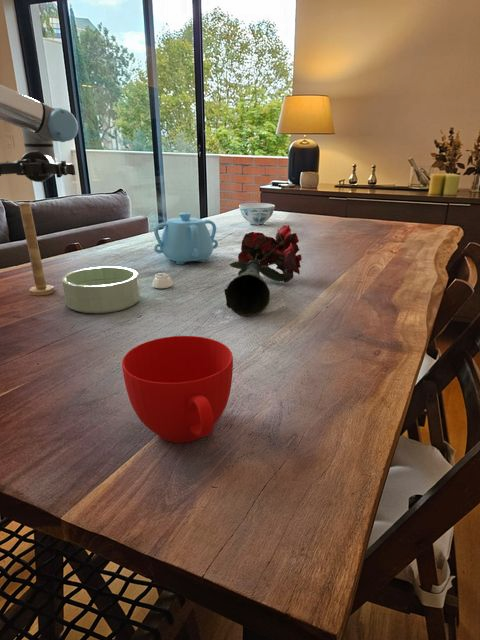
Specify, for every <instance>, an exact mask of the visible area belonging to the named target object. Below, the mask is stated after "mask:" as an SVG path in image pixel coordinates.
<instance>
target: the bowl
mask: <svg viewBox="0 0 480 640" xmlns="http://www.w3.org/2000/svg"><path fill="white" fill-rule="evenodd" d="M61 283H62V290H63V295H64V300H65V306H66V307H68V308H69V309H70V310H73V311H76V312H79V313H83V314H107V313H114V312H119V311H123V310H126V309H128V308H131V307H133V306H135V304H137V303H138V302H139V301H140V299H141V296H142V295H141V289H140V288H141V287H140V277H139V273H138V271H136V270H134V269H132V268H128V267H123V266H96V267H89V268H81V269H77V270H74V271H71V272H69V273H67V274H64V276H62V277H61Z"/></svg>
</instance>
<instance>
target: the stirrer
mask: <svg viewBox="0 0 480 640" xmlns="http://www.w3.org/2000/svg"><path fill="white" fill-rule="evenodd" d="M18 206H19V211H20V217H21V221H22V226H23V231H24V235H25V240H26V245H27V251H28V255H29V260H30V264H31V269H32V275H33V280H34V286H32V287H30V288H29V289H28V291H29V295H31V296H36V297H37V296H39V297H40V296H47V295H51V294H53V293H54V291H55V288H54V286H53V285H51V284H46V278H45V273H44V268H43V263H42V257H41V252H40V247H39V242H38V237H37V231H36V226H35V222H34V221H35V220H34V216H33V209H32V205H31V203H30V202H20V203H18Z"/></svg>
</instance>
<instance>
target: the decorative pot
mask: <svg viewBox="0 0 480 640" xmlns="http://www.w3.org/2000/svg"><path fill="white" fill-rule="evenodd" d="M191 214H192V213H191V212H180V213H178V215H179V217H173V218H172V217H171V218H168V219H167V220H166V222H159V223H157V224H156V225H155V226H154V229H153V233H154V237H155V239H156V241H157V244H155V245H154V247H153V251H154V252H155V253H156V254H163V256H164V257H165V258H166V259H168V260H170V261H173V262H175V264H176V265H184V264H185V263H186V262H195V261H196V262H197V263H204V262H206V260H207V259H209V258H210V257H211V255H212V253H213V252H214V249H217V248H218V246H219V242H218V241H217V240H216V239H215V237H216V233H217V225H216V223H215V222H214V221H213V220H209V219H204V220H203V219H201V218H199V217H191ZM207 224H210V225H211V227H212V228H211V229H212V230H211V233H210V231H209V229H208V227H207ZM162 227H163V230H162V233H161V237H160V233H159V230H160V228H162ZM213 243H214V244H213ZM158 247H159V249H158Z"/></svg>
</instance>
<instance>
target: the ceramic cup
mask: <svg viewBox="0 0 480 640" xmlns="http://www.w3.org/2000/svg"><path fill="white" fill-rule="evenodd" d="M121 369H122V374H123V375H122V376H123V381H124V384H125V389H126V393H127V396H128V399H129V402H130V405H131V407H132V409H133V411H134V412H135V414H136V416H137V417H138V419H139V421H141V423H142V424H143V425H144V426H145V427H147V428H148V429H149V430H150V431H151V432H153V433H154V434H156V435H157V436H158V437H160V438H161V439H162V440H164V441H168V442H171V443H178V444H179V443H181V444H182V443H188V442H189V443H190V442H193V441H196V440H198V439H200V438H204V437H206V436H209V435H211V434H212V432H213V430H214V426H215V424H216V423H217V422H218V421H219V419H220V418H221V416H222V415H223V413H224V411H225V409H226V407H227V405H228V401H229V399H230V395H231V394H230V393H231V389H232V384H233V372H234V357H233V352H232V351H231V349H230V348H229V347H228V346H227V345H226V344H224V343H222V342H220V341H218V340H215V339H213V338H208V337H204V336H195V335H173V336H165V337H160V338H156V339H155V338H154V339H151V340H148V341H145V342H142V343H141V344H138V345H136V346H135V347H133V348H131V349H130V350H129V351H127V353H126V354H125V355H124V357H123V358H122V361H121Z"/></svg>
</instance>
